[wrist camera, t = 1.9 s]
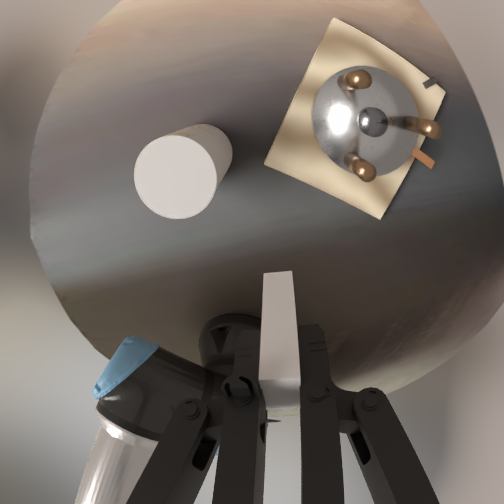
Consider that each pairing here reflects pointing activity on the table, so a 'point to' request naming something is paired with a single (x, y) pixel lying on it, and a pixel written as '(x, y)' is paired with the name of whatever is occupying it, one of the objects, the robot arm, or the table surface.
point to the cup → (182, 170)
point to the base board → (300, 128)
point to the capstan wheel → (369, 122)
